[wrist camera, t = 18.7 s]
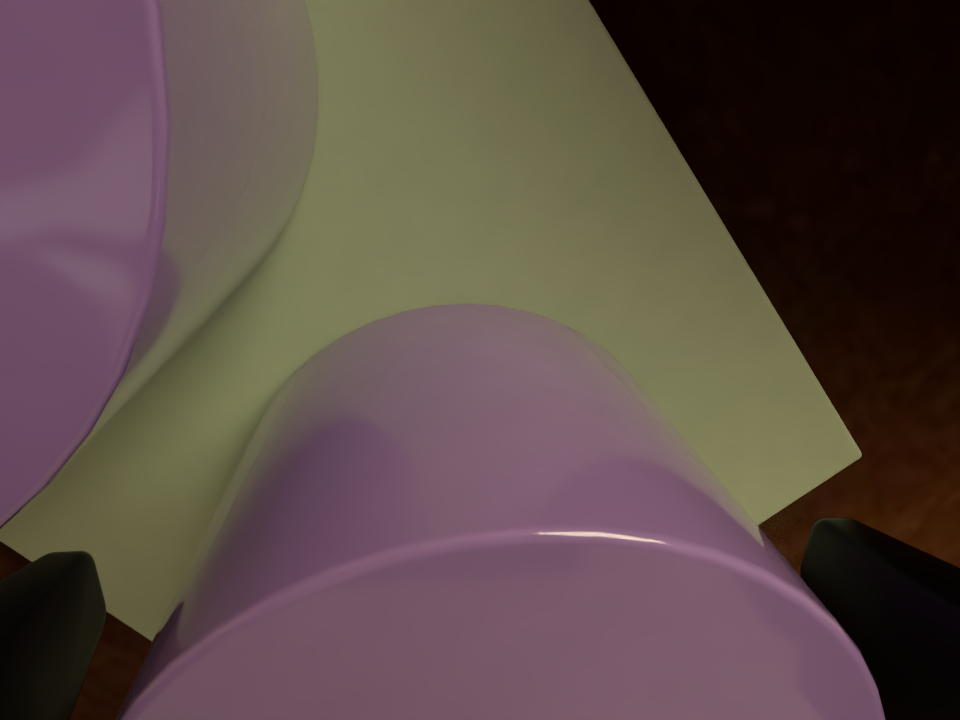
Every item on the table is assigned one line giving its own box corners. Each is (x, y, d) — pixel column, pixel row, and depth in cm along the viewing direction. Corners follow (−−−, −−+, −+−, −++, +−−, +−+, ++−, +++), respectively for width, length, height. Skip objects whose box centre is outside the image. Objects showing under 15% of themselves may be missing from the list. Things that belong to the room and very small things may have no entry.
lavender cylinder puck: (264, 672, 10) (155, 1105, 5) (214, 301, 7) (-44, 558, 3) (636, 647, 10) (793, 1015, 6) (696, 301, 8) (1012, 512, 4)
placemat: (-564, 112, 6) (-655, 112, 6) (105, -760, 5) (64, -877, 4) (367, 752, 11) (365, 785, 11) (840, 437, 10) (865, 457, 9)
